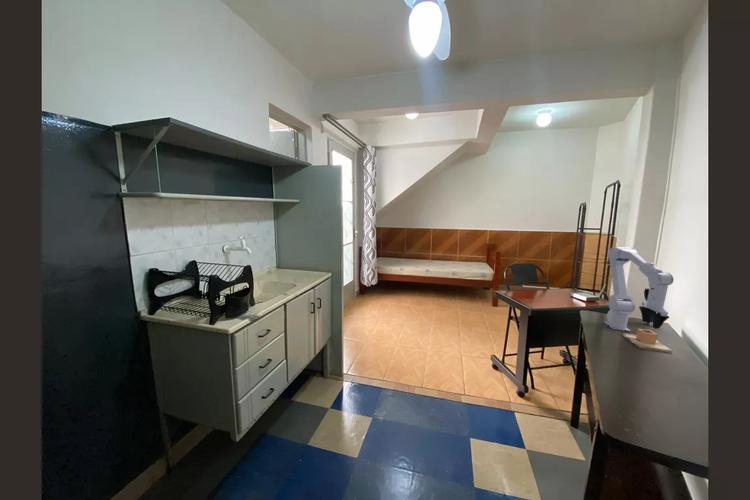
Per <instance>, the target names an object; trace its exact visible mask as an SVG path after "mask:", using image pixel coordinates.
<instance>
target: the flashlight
mask: <svg viewBox="0 0 750 500" xmlns="http://www.w3.org/2000/svg"><path fill="white" fill-rule="evenodd" d="M649 289H650V288H644V292H643V294H644V300H645V302H647V299H648V294H649ZM653 313H657V312H655V311H654V312H653ZM650 323H653V317H652V315H651V318H650V320H649V322H646V325H647V324H649V325H650Z"/></svg>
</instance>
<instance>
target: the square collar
mask: <svg viewBox="0 0 750 500" xmlns="http://www.w3.org/2000/svg"><path fill="white" fill-rule="evenodd" d="M636 330H637V331H636V334H635V335H636V339H638V340H639V341H641V342H642V343H648V344H655V343H656V340H657V338H658V334H657V332H656V333H655V332H654V331H652V330H651V329H644V328H637V329H636ZM646 332H649V333H646Z"/></svg>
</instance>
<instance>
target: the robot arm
mask: <svg viewBox="0 0 750 500" xmlns="http://www.w3.org/2000/svg"><path fill="white" fill-rule="evenodd" d="M607 253H608V260H609V265H610V273H611V280H612V289H613V294H612V295H611V296H609V297H608V308H609V310H608V312H607V315H606V320H605V321H604V322H605V323H604V322H603V323H604V324H606V325H607V326H608V325H609V326H608V327H610V328H611V329H612V330H619V331H625V330H626V331H627V332H631V330H630V329H629V328H628V322H629V317H630V315H631V314H632V313H633V312H634V311H635V310H636V304H635V302H634V299H633V297H632V296H630V295H629V294H628V291H627V284H626V275H625V270H624V269H625V268H624V265H625V264H627V263H629V262H632V263H633V264H634V265H636V266H637V267H638V270H639V271H640V272H641V273H642V274H643V275H644V276H646V277H647V281H648V286H649V288H648V289H649V294H648V299H647V301H641V306H638V308H639V310H640V313H641V320H642V322H644V323H647V322H649V320H650V318H651V315H652V317H653V322H652V328H653V329H656V330H659V329H660V328H661V326H662V325H664V323H665V322H666V321H667V320H668V319H670V316H669V312H668V311H667V310H666V309H665V307H664V306H665V301H666V298H667V297H666V296H667V292H668V288H669V286H670V285H672V284H673V283H674V277H673V275H672V274H671V273H670V272H666V271H663V270H662V269H660V268H658V266H656V265H655V263H654V262H649V261H646V260H645V259H643V258H642V256H641V255H639V253H638V251H637V250H636V249H635V248H634V247H621V246H612V247H611V248H610V249H609V251H607ZM654 311H655V312H656V313H653V312H654Z"/></svg>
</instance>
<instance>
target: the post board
mask: <svg viewBox="0 0 750 500" xmlns="http://www.w3.org/2000/svg"><path fill="white" fill-rule="evenodd" d="M646 333H649V332H646ZM636 335H637V334H632V333H626V332H624V333H623V332H622V336H623V338H625V339H626V340H627V341H629V342H630V343H632V344H633V343H634V344H635V347H637V348H638V347H639V348H638V349H640V348H642V349H643V350H648V351H654V352H661V353H670V354H672V353H673V350H672V349H671V348H669V347H667V346H666V345H665V344H663V343H661V342H660V341H658V340H657V339H656V343H655V344H648V343H642V342H641V341H639V340H638V339H636ZM642 349H641V350H642Z"/></svg>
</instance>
